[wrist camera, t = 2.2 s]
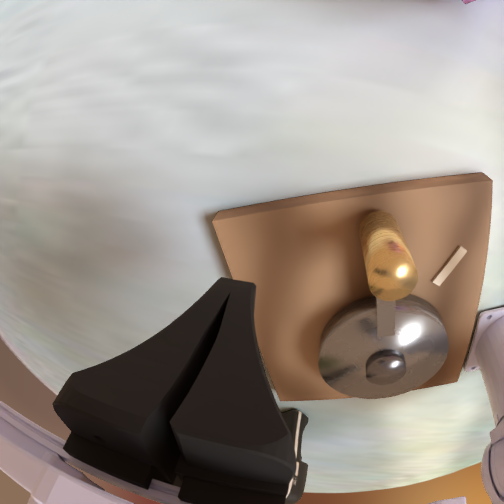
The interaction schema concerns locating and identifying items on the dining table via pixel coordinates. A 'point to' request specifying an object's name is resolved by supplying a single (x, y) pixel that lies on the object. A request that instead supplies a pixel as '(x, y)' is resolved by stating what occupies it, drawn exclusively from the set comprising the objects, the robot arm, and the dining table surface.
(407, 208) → the cutting board
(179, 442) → the robot arm
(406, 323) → the crank handle wheel
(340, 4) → the dining table surface
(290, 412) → the battery charger
